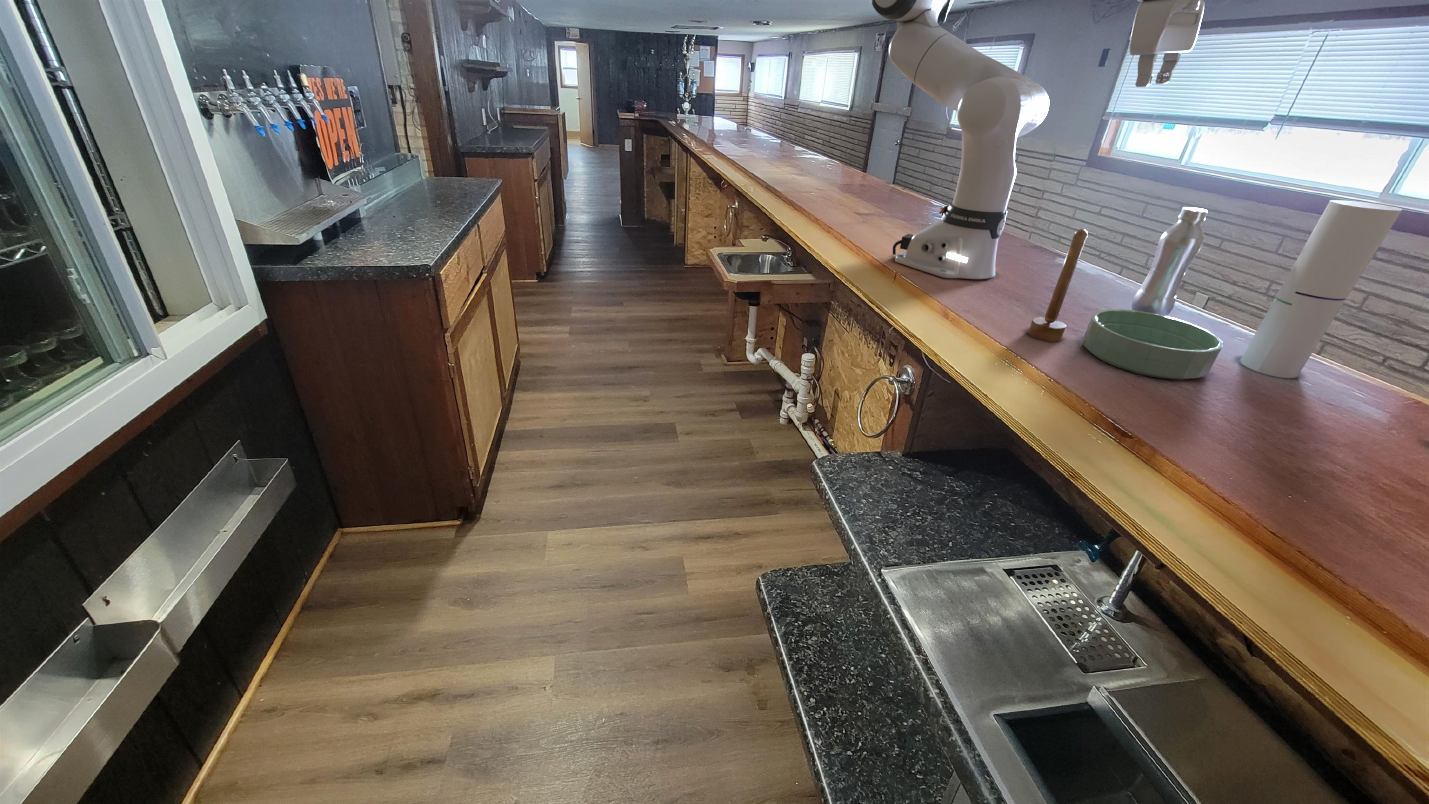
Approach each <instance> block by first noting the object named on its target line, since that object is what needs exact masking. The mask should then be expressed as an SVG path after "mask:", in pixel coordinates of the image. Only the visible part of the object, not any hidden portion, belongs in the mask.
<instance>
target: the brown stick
mask: <svg viewBox="0 0 1429 804" xmlns="http://www.w3.org/2000/svg"><path fill="white" fill-rule="evenodd" d="M1087 238H1088V231H1087V230H1086V229H1085V228H1079V229H1077V230H1076V231H1075V232H1074V233H1073V236H1072V240H1071V242H1070V246H1069V247H1068V250H1067V254H1066V256H1065V259H1064V261H1063V265H1062V268H1061V270H1060V273H1059V276H1058V278H1057V282H1056V284H1055V287H1054V290H1053V292H1052V296H1051V299H1050V301H1049V304H1048V306H1047V310H1046V313H1045V315H1044V316H1037V317H1033V318H1032V320H1031V323H1030V325H1029V328H1028V331H1027V333H1028V335H1029V336H1030V337H1032V338H1034V339H1037V340H1040V341H1046V342H1060V341H1062V338H1063V335H1064V332H1065V330H1066V328H1067V325H1066V324H1065V323H1064V322H1063V321H1061V320H1058V316H1059V314H1060V311H1061V308H1062V305H1063V304H1064V301H1065V298H1066V295H1067V292H1068V289H1069V286H1070V284H1071V281H1072V279H1073V275H1074V273H1075V269H1076V267H1077V265H1078V261H1079V259H1080V256H1081V254H1082V251H1083V248H1084V246H1085V243H1086V240H1087Z"/></svg>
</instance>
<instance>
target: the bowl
mask: <svg viewBox="0 0 1429 804" xmlns="http://www.w3.org/2000/svg"><path fill="white" fill-rule="evenodd" d="M1082 344H1083V346H1084V347H1085V348H1086V349H1087V350H1088V351H1089V352H1090V353H1091V354H1092V355H1093V356H1095V357H1096V358H1098V359H1099V360H1101V361H1103V362H1104V363H1107V364H1109V365H1111V366H1114V367H1117V368H1119V369H1122V370H1125V371H1128V372H1132V373H1135V374H1138V375H1142V376H1147V377H1153V378H1158V379H1159V378H1160V379H1166V380H1190V379H1198V378H1202V377H1205V376H1208V374H1209V373H1210V372H1211V370H1212V368H1213V365H1214V363H1215V361H1216V359H1217V358H1218V356H1219V354H1220V352H1221V350H1222V349H1223V347H1224V342H1223V340H1222V339H1221V338H1220V337H1219V336H1218V335H1216V334H1214V333H1213V332H1211V331H1210V330H1208V329H1205V328H1204V327H1202V326H1198V325H1196V324H1193V323H1190V322H1188V321H1185V320H1181V319H1178V318H1175V317H1171V316H1168V315H1167V316H1163V315H1159V314H1153V313H1148V312H1142V311H1134V310H1132V309H1122V308H1121V309H1119V308H1118V309H1102V310H1098V311H1096V312H1095V313H1093V314H1092V315H1091V317H1090V320H1089V322H1088V325H1087V327H1086V330H1085V333H1084V335H1083V337H1082Z"/></svg>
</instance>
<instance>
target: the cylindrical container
mask: <svg viewBox="0 0 1429 804" xmlns="http://www.w3.org/2000/svg"><path fill="white" fill-rule="evenodd" d="M1402 212H1403V208H1400V207H1397V206H1393V205H1387V204H1382V203H1381V204H1380V203H1375V202H1374V203H1373V202H1366V201H1356V200H1345V199H1330V200H1329V202H1328V203H1327V205H1326V207H1325V209H1324V210H1323V212H1322V214H1321V216H1320V218H1319V219H1318V221H1317V223H1316V225H1315V227H1314V228H1313V230H1312V232H1311V233H1310V236H1309V237H1308V239H1307V240H1306V241H1305V242H1306V243H1305V244H1304V246H1303V248H1302V249H1301V251H1300V253H1299V255H1298V256H1297V259H1296V260H1295V262H1294V263H1293V265H1292V267H1291V269H1290V270H1289V272H1288V274H1287V276H1286V278H1285V280H1284V282H1283V283H1282V285H1281V287H1280V288H1279V290H1278V292H1277V293H1276V295H1275V298H1274V299H1273V301H1272V303H1271V304H1270V306H1269V308H1268V310H1267V311H1266V313H1265V315H1264V317H1263V318H1262V321H1261V322H1260V323H1259V326H1258V327H1257V329H1256V331H1255V333H1254V335H1253V337H1252V338H1251V340H1250V341H1249V344H1248V345H1247V348H1246V349H1245V350H1244V353H1243V354H1242V356H1241V358H1240V359H1239V363H1240V364H1241V365H1243V366H1244V367H1245V368H1248V369H1249V370H1252V371H1255V372H1258V373H1261V374H1264V375H1268V376H1271V377H1275V378H1276V377H1277V378H1284V379H1294V378H1297V377H1298V376H1299V375H1300V373H1301V372H1302V370H1303V369H1304V367H1305V366H1306V364H1307V362H1308V360H1310V357H1311V356H1312V354H1313V352H1314V351H1315V350H1316V348H1317V347H1318V345H1319V343H1320V341H1321V340H1322V338H1323V337H1324V335H1325V333H1326V332H1327V331H1328V328H1329V327H1330V325H1332V322H1333V321H1334V320H1335V318H1336V316H1337V314H1338V313H1339V311H1340V310H1341V308H1342V307H1343V305H1344V304H1345V302H1346V300H1347V298H1348V297H1349V296H1350V294H1351V292H1352V291H1353V289H1354V288H1355V286H1356V284H1357V283H1358V281H1359V279H1360V278H1361V276H1362V275H1363V273H1364V272H1365V270H1366V269H1367V267H1368V265H1369V264H1370V263H1371V261H1372V259H1373V258H1374V256H1375V254H1376V252H1377V251H1378V249H1379V248H1380V246H1381V245H1382V243H1383V241H1384V240H1385V238H1386V237H1387V235H1388V233H1389V232H1390V231H1391V229H1392V227H1393V226H1394V224H1395V223H1396V221H1397V219H1398V218H1399V216H1400V215H1401V213H1402Z"/></svg>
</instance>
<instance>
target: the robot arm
mask: <svg viewBox="0 0 1429 804" xmlns="http://www.w3.org/2000/svg"><path fill="white" fill-rule="evenodd" d="M954 1H955V0H870V3H871V5H872V8H873V9H874V11H875V12H876V13H877V14H878V15H879V16H881V17H883V18H884V19H886V20H888V21H889V20H890V21H897V22H896V31H895V33H894V34H893V36H892V38H891V40H890V43H889V47H888V55H889V59H890V61H891V64H893V65H894V67H895V68H896V69H897V70H898V71H899V72H900V73H901V74H902V76H904V77H905V78H906V79H907V80H908V81H909V82H911V84H913V85H914V86H916V87H917V88H919V89H920V90H921V91H923V92H924V93H925V94H927V95H929V97H931V98H932V99H934V100H935V101H937V103H939V104H941V105H942V106H944V107H946V108H949V109H952V110H954V111H956V112H957V113H956V115H957V122H958V125H959V127H960V131H961V157H960V158H961V161H960V168H959V169H960V170H959V175H958V178H957V182H956V186H955V187H956V188H955V192H954V196H953V200H952V202H951V203H950V204H948V205H946V206H943V207H941V208H939V210H940V211H938V212H939V213H938V214H940V215H941V218H940V220H938V221H936V222H934V223H932V224H931V225H929V226H927V227H925V228H924V229H922V230H919V231H918V232H917V233H915V234H911V233H907V234H905V235H903V236H902V237H901V239H900V240H897V241H896V242H895V243H894V244H893V246H892V255H893V256H895V258H894V262H895V263H898V264H901V265H904V266H907V267H910V268H913V269H915V270H919V271H922V272H925V273H927V274H928V273H929V274H931V275H934V276H937V277H939V278H940V277H941V278H944V279H966V280H986V279H987V280H988V279H991V278H994V277H996V258H997V252H998V251H997V250H998V244H999V239H1000V237H1001V236H1002V234H1003V231H1004V228H1005V225H1006V220H1007V215H1008V210H1007V208H1008V205H1009V201H1010V198H1011V193H1012V190H1013V188H1014V183H1015V179H1016V177H1017V167H1016V161H1015V160H1016V146H1017V145H1016V144H1017V139H1018V137H1019V138H1021V137H1023V136H1024V135H1027V134H1029V133H1030V132H1032V131H1033V130H1035V129H1036V128H1038V126H1040V125H1041V124H1042V122H1043V121H1044V120H1045V118H1046V117H1047V114H1048V112H1049V108H1050V98H1049V94H1048V93H1047V90H1046V89H1045V88H1044V87H1043V86H1042V85H1040V84H1039V83H1037V82H1036V81H1034V79H1032V78H1029V77H1028V76H1026V75H1025V74H1022V73H1021V72H1018V71H1017V70H1015V69H1013V68H1011V67H1009V66H1008V65H1006V64H1004V63H1002V62H1000V61H998V60H996V59H994V58H992V57H990V56H988V55H986V54H984V53H983V52H980V51H979V50H978V49H976V48H974V47H972V46H971V45H970V44H968V43H967V42H965V41H964V40H962V39H960V38H959V37H957V36H956V35H954V34H952V33H951V32H949V31H948V30H946V29H945V28H943V27H942V25H943V24H944V23H945V22H946V19H947V16H948V13H949V12H950V10H951V9H952V6H953V4H954ZM1136 1H1137V2H1139V5H1138V6H1137V8H1136V12H1135V16H1134V19H1133V24H1132V29H1131V34H1130V39H1129V47H1128V48H1129V55H1130V56H1139V58H1138V60H1137V61H1138V62H1137V78H1136V80H1135V87H1136V88H1146V87H1149V86H1150V85H1152V80H1153V77H1154V74H1153V71H1154V67H1155V66H1154V65H1155V63H1156V62H1157V59H1158V55H1160V54H1161V55H1162V54H1163V57H1162V64H1161V66H1160V70H1159V72H1157V74H1156V78H1155V81H1154V82H1155V84H1156V85H1165V84H1168V83H1170V81H1171V78H1172V76H1173V73H1174V70H1175V69H1176V67H1177V65H1178V63H1179V62H1180V58H1181V55H1182V53H1189V52H1191V51H1192V50H1193V48H1194V46H1195V44H1196V42H1197V38H1198V36H1199V35H1198V34H1199V31H1200V28H1201V23H1202V19H1203V15H1204V12H1205V11H1204V10H1205V5H1206V4H1205V1H1204V0H1136ZM898 245H899V249H900V250H904V251H902V252H900V253H898V254H897V247H898Z"/></svg>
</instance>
